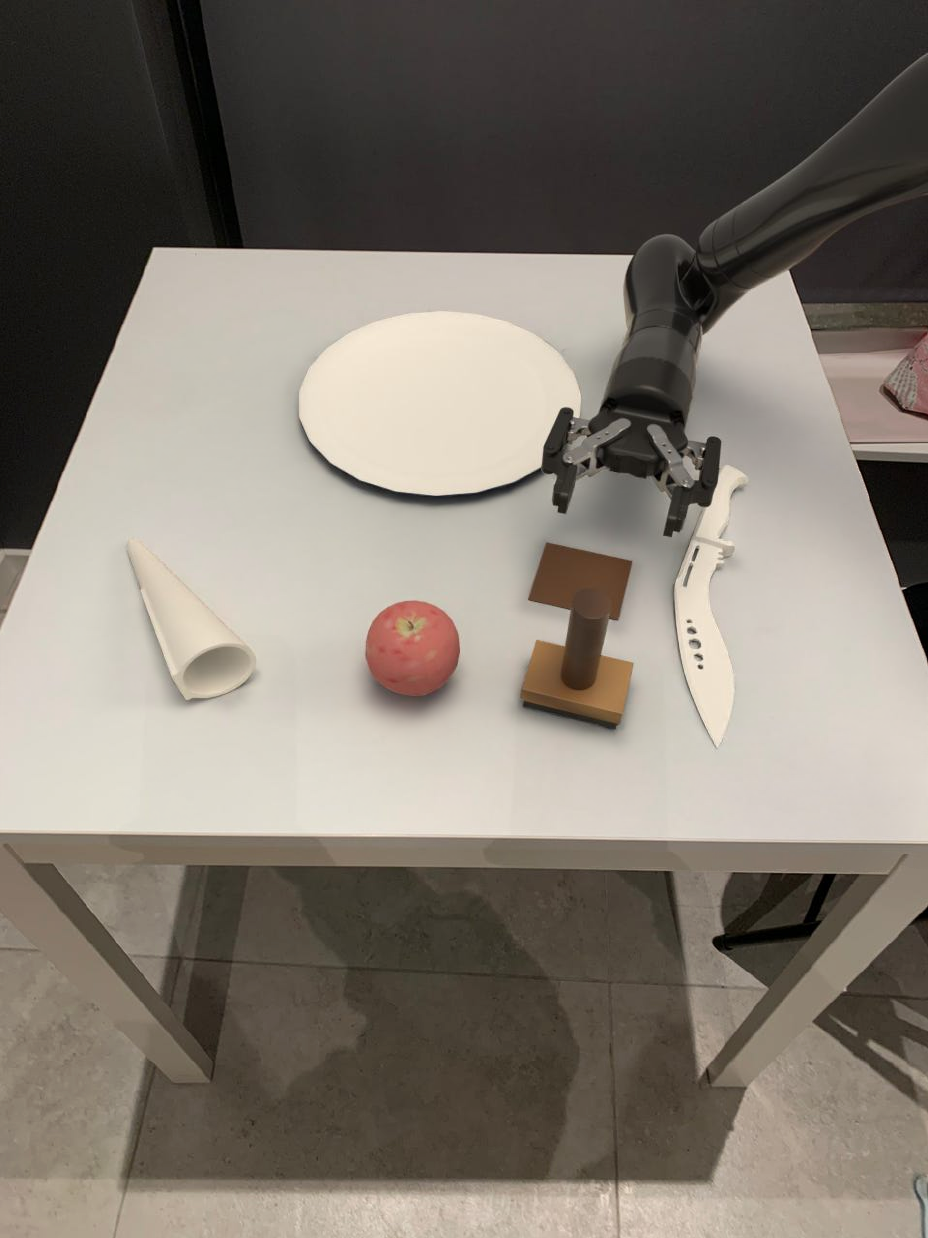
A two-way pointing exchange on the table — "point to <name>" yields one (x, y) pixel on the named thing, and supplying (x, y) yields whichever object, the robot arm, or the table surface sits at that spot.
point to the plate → (436, 403)
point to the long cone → (189, 631)
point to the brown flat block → (579, 576)
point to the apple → (412, 648)
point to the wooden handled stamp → (579, 668)
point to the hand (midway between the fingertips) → (615, 517)
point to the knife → (707, 610)
